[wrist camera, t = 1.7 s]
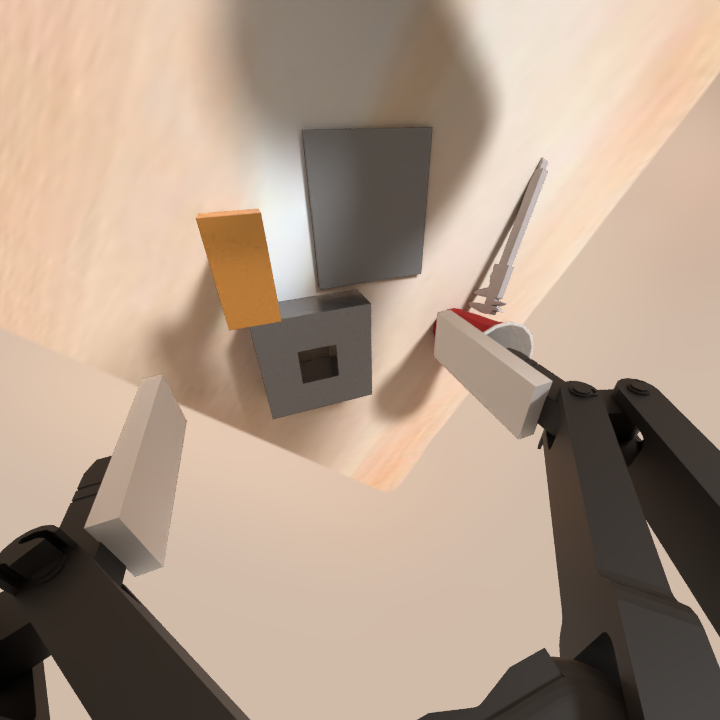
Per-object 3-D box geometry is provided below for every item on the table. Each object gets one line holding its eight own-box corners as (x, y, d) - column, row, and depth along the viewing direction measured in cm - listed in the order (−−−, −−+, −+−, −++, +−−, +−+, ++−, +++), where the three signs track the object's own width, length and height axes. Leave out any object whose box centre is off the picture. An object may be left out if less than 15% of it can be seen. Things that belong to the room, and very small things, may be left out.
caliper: (471, 305, 50) (498, 321, 45) (466, 303, 49) (493, 320, 44) (544, 160, 41) (588, 161, 36) (539, 157, 41) (583, 157, 36)
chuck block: (246, 306, 38) (248, 324, 34) (357, 289, 41) (370, 303, 37) (269, 396, 46) (273, 419, 42) (360, 374, 49) (372, 394, 45)
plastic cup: (478, 280, 47) (541, 311, 38) (478, 338, 54) (532, 378, 44) (413, 305, 46) (461, 345, 36) (422, 362, 52) (464, 409, 43)
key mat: (302, 130, 31) (303, 130, 30) (429, 127, 34) (432, 127, 34) (319, 287, 40) (320, 289, 39) (419, 272, 43) (421, 273, 43)
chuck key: (207, 195, 31) (195, 218, 20) (250, 192, 32) (260, 212, 21) (229, 275, 35) (229, 330, 24) (265, 270, 36) (281, 321, 25)
